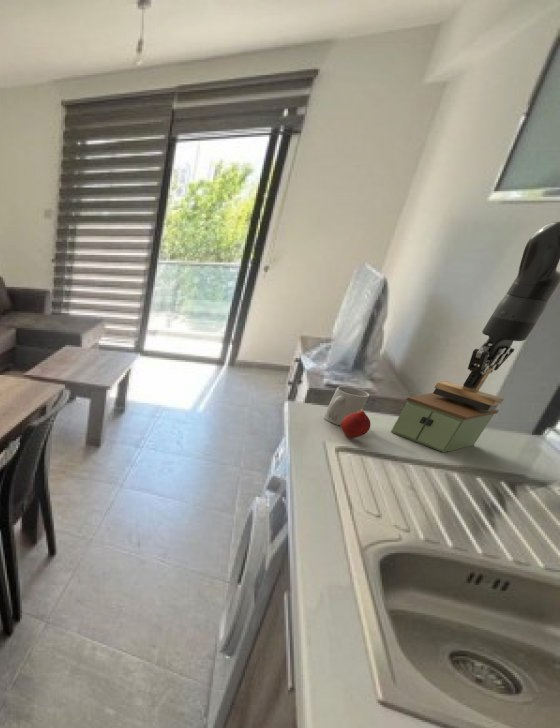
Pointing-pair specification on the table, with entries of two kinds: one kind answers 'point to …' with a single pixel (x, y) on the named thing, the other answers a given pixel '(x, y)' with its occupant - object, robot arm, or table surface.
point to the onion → (355, 424)
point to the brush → (469, 394)
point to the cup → (345, 403)
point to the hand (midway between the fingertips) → (471, 386)
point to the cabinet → (441, 422)
